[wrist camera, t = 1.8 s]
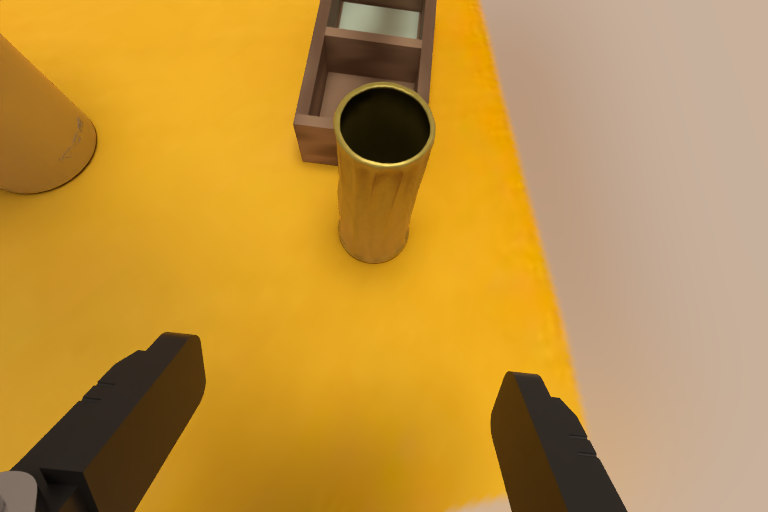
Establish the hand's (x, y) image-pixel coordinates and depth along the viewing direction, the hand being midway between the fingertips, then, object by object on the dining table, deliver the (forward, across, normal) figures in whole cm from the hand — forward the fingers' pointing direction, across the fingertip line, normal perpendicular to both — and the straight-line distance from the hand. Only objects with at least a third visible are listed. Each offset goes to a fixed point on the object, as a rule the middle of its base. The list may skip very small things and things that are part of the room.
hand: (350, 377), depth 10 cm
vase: (+22, 0, +5) cm, 23 cm away
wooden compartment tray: (+33, +2, -6) cm, 34 cm away
